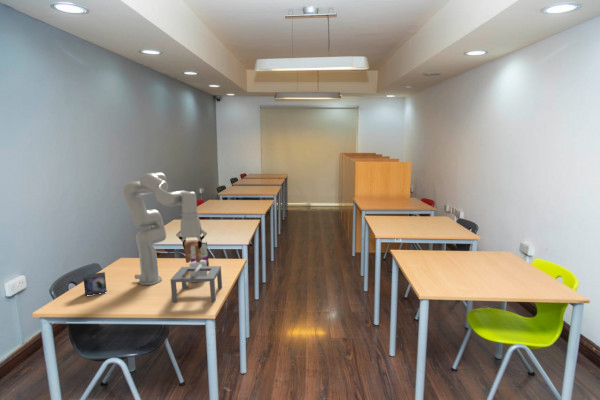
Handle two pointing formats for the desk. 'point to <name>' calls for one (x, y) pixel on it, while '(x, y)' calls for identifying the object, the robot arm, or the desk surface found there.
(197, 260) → the u-shaped wooden block
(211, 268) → the grey square frame
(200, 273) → the photo printer
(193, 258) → the candy bar box
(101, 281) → the small box
